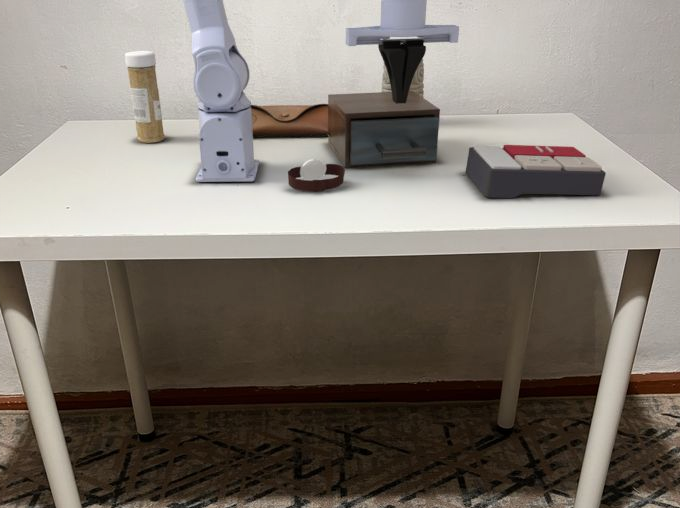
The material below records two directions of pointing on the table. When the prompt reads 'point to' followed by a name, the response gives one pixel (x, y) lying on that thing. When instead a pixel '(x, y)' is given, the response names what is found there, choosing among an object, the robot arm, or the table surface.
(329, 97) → the cabinet
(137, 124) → the sprinkles bottle
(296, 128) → the sunglasses case
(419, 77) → the carving
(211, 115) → the robot arm
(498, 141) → the table surface
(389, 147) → the drawer
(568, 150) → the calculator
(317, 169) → the watch
